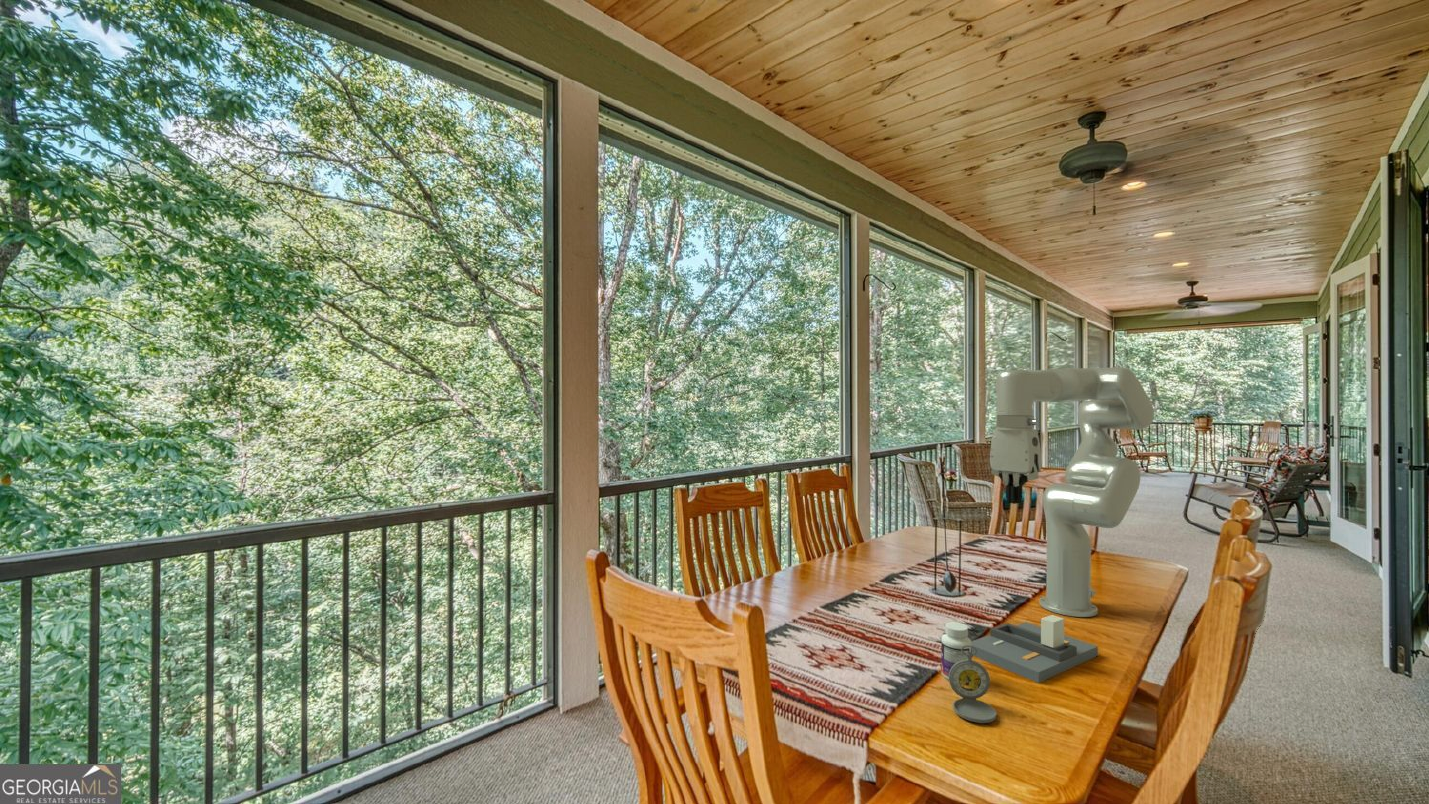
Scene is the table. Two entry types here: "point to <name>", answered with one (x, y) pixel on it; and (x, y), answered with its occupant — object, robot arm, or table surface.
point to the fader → (1052, 632)
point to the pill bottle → (954, 646)
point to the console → (1030, 651)
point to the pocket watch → (971, 690)
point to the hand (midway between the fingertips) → (1013, 502)
